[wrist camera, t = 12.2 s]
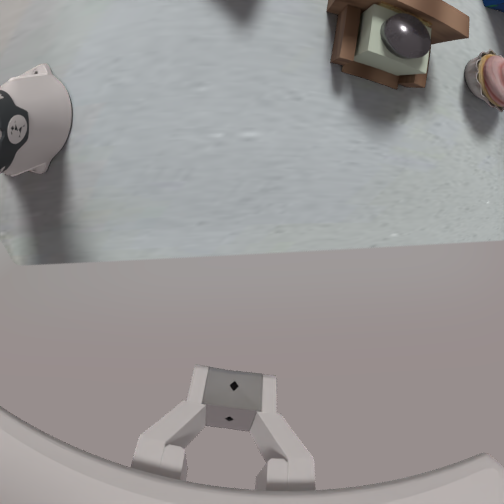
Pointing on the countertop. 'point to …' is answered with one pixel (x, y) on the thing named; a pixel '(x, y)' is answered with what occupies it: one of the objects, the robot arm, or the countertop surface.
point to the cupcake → (487, 78)
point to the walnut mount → (413, 3)
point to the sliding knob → (392, 42)
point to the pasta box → (494, 4)
